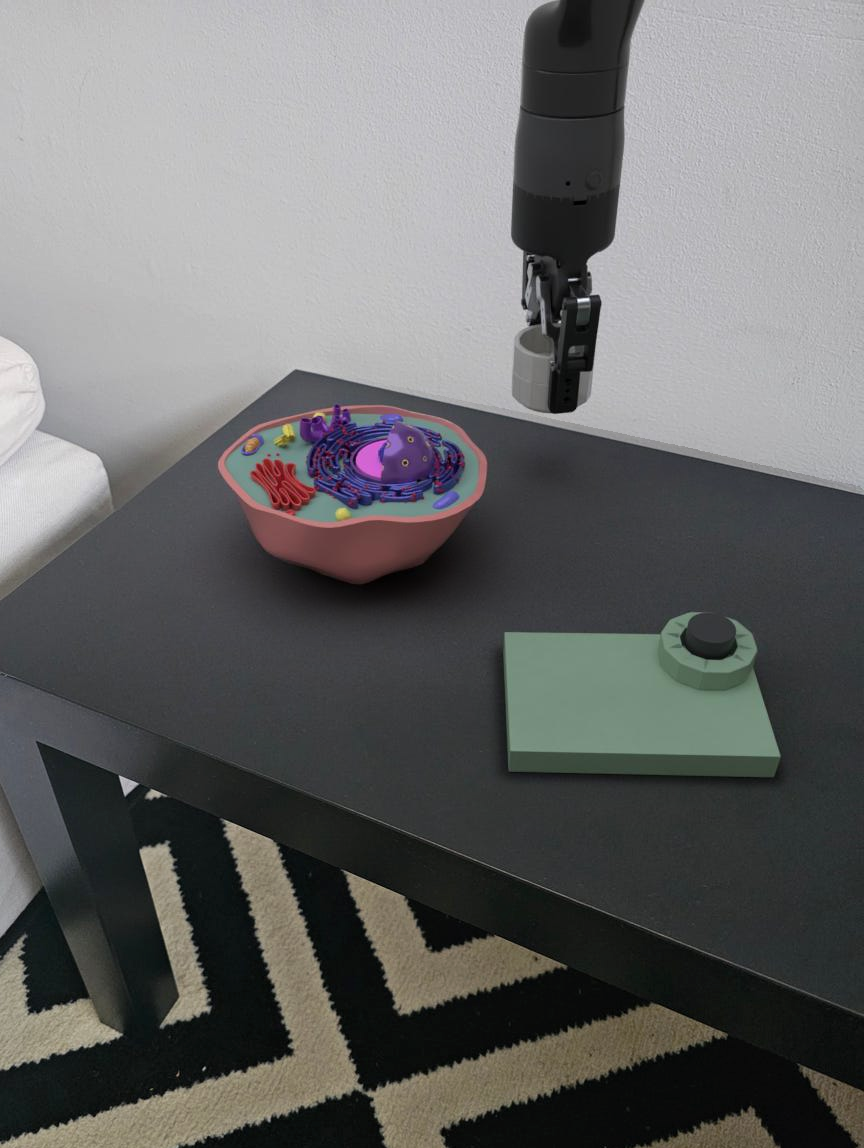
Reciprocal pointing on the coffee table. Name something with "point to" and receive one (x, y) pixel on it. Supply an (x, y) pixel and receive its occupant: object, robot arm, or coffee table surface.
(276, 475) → the cell model
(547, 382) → the white cup
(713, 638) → the button
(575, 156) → the robot arm
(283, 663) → the coffee table surface
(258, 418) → the coffee table surface
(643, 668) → the scale
